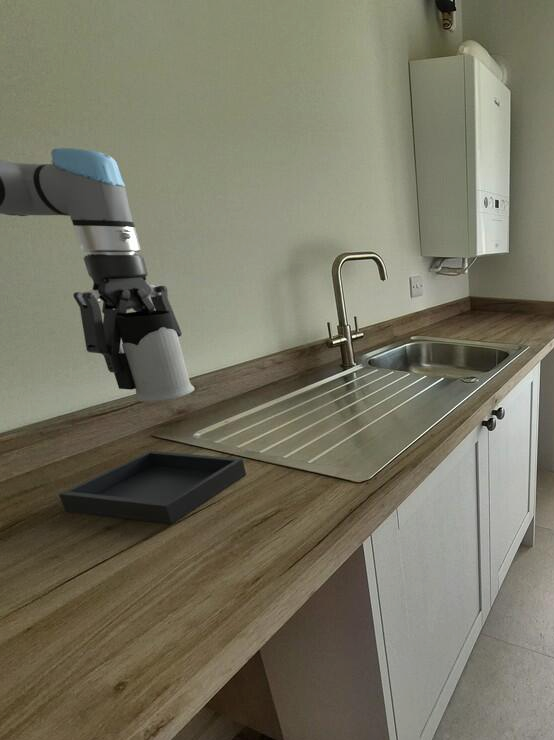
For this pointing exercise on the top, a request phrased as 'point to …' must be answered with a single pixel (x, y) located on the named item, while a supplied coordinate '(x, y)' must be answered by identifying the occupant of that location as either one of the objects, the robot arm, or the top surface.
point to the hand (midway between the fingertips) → (150, 381)
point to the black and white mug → (154, 356)
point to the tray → (154, 487)
